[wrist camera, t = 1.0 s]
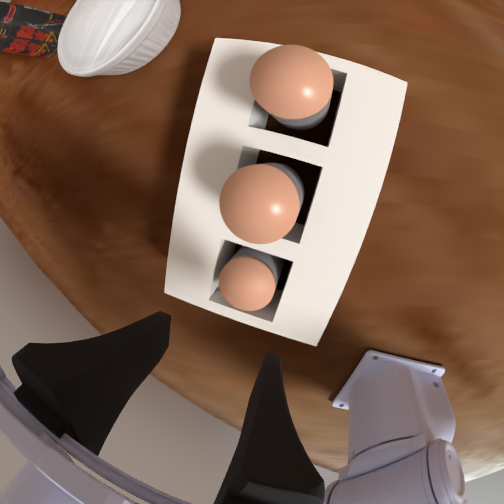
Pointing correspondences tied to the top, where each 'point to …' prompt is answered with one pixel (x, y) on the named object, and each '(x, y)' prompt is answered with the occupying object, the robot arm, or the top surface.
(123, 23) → the ramekin
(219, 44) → the white egg carton
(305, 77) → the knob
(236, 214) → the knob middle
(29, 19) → the deodorant
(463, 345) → the top surface
